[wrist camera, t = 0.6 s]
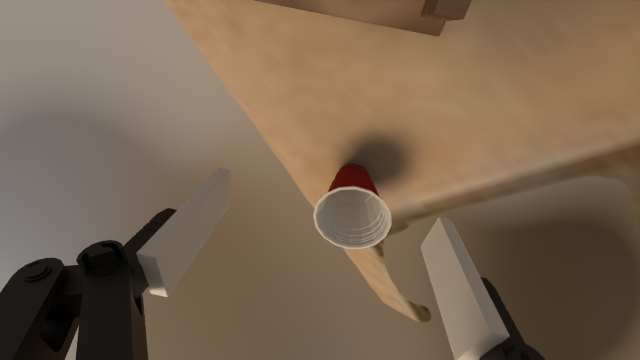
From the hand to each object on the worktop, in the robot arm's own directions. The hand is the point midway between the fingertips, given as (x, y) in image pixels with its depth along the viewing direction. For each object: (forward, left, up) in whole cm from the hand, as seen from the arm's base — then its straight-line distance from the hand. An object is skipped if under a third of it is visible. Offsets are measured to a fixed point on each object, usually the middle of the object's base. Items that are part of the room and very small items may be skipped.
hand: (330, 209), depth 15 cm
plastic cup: (+12, +4, -26) cm, 29 cm away
